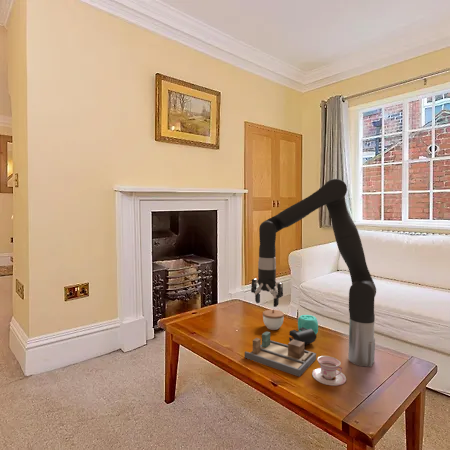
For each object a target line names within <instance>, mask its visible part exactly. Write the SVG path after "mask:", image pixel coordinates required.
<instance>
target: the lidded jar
mask: <svg viewBox="0 0 450 450" xmlns="http://www.w3.org/2000/svg"><path fill="white" fill-rule="evenodd" d="M284 316H285V313H284V312H283V311H281V310H277V309H266V310H264V311H263V312H262V321H263V323H264V326H265V327H266V328H267V330H270V331H271V330H272V331H277V330H279V329H280V328H281V327H282V325H283V323H284V318H285V317H284Z"/></svg>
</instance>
